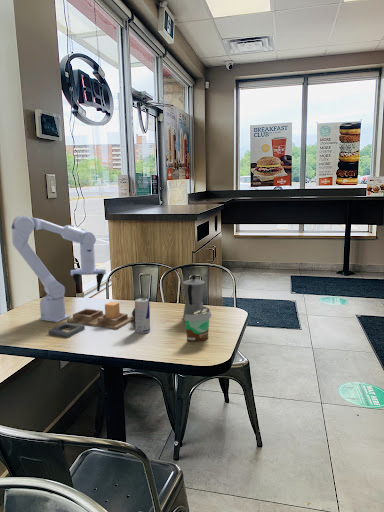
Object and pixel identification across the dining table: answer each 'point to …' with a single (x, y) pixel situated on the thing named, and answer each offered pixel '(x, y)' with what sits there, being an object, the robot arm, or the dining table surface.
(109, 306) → the orange peg
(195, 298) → the coffeepot
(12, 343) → the dining table surface
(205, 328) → the food container
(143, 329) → the energy drink
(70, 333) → the metal socket
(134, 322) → the bolt
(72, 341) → the dining table surface
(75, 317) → the walnut rack
